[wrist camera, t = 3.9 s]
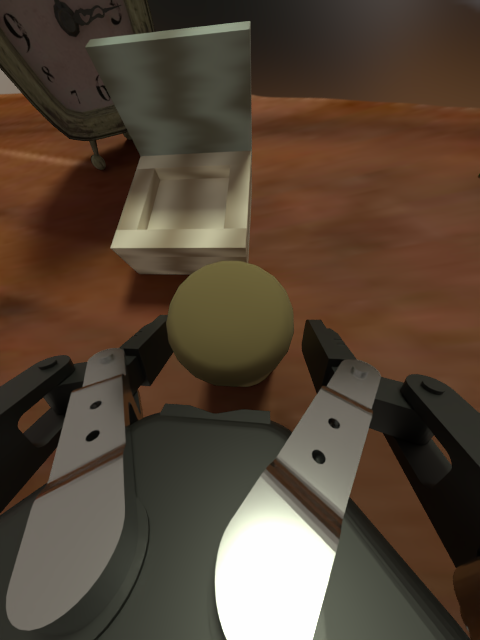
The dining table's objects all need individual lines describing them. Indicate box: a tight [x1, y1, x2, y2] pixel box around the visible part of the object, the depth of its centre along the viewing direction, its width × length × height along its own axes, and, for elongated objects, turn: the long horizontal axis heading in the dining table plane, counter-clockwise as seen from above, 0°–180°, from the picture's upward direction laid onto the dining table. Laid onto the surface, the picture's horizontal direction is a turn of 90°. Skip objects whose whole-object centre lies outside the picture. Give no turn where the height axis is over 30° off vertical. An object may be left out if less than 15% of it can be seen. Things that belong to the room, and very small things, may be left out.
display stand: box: [85, 21, 252, 275], centre depth 16 cm, size 12×13×11 cm
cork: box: [166, 261, 294, 387], centre depth 11 cm, size 6×6×11 cm
